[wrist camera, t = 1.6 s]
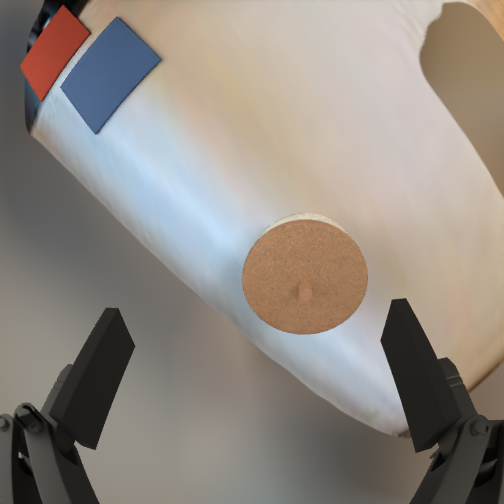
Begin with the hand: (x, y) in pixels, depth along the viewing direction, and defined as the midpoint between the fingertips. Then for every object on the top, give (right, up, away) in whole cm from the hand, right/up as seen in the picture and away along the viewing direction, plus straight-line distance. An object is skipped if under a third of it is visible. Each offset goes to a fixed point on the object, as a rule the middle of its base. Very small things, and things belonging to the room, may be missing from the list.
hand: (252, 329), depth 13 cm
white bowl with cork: (+7, +4, +24) cm, 25 cm away
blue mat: (-21, +29, +18) cm, 39 cm away
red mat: (-33, +37, +16) cm, 52 cm away
